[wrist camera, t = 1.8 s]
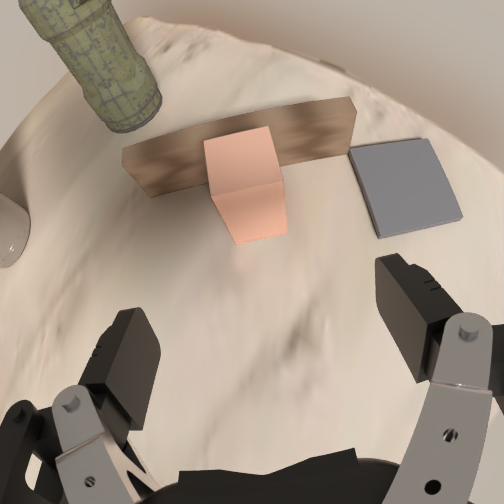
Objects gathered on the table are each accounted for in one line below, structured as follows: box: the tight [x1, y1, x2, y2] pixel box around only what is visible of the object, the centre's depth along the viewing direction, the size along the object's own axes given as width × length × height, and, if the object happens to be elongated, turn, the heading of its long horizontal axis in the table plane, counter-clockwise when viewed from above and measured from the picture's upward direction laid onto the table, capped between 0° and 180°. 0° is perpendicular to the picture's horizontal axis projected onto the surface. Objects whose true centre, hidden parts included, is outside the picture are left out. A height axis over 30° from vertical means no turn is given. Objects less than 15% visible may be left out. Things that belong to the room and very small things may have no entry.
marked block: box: [204, 126, 288, 245], centre depth 27 cm, size 5×5×10 cm
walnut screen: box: [122, 97, 357, 198], centre depth 30 cm, size 22×2×7 cm, turn 100°
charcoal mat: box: [348, 138, 463, 239], centre depth 30 cm, size 10×10×1 cm
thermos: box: [18, 0, 162, 133], centre depth 23 cm, size 9×12×35 cm
